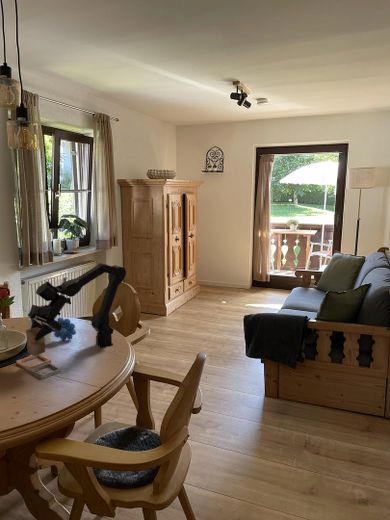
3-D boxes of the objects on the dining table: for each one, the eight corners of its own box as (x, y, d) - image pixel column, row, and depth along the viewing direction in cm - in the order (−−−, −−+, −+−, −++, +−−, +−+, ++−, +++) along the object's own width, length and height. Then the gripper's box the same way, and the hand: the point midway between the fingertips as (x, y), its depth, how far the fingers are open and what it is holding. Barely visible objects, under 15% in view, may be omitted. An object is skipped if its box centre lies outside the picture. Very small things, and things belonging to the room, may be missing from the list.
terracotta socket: (39, 355, 174) (38, 353, 174) (51, 362, 168) (51, 359, 168) (16, 363, 167) (16, 360, 166) (28, 370, 160) (28, 367, 160)
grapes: (50, 344, 187) (49, 321, 185) (52, 339, 193) (50, 316, 191) (76, 342, 190) (75, 319, 188) (76, 337, 196) (75, 314, 194)
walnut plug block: (38, 349, 167) (37, 327, 165) (45, 352, 164) (43, 329, 162) (27, 352, 163) (26, 330, 162) (33, 355, 160) (32, 333, 159)
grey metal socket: (49, 365, 165) (49, 362, 165) (61, 371, 160) (60, 368, 159) (30, 372, 158) (30, 369, 158) (41, 379, 153) (41, 376, 153)
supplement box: (42, 345, 186) (41, 320, 183) (28, 344, 187) (27, 319, 185) (51, 340, 193) (49, 315, 190) (37, 338, 194) (36, 314, 192)
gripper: (30, 293, 168) (6, 324, 162) (53, 301, 157) (29, 334, 150) (48, 306, 176) (26, 336, 169) (71, 315, 164) (49, 347, 158)
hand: (32, 338), depth 162 cm, fingers closed on walnut plug block, 5 cm apart
